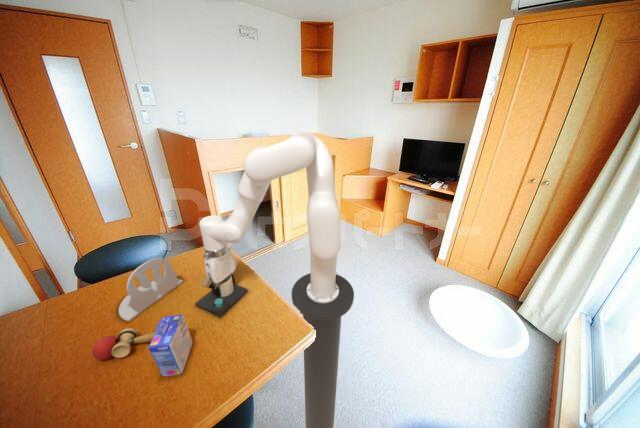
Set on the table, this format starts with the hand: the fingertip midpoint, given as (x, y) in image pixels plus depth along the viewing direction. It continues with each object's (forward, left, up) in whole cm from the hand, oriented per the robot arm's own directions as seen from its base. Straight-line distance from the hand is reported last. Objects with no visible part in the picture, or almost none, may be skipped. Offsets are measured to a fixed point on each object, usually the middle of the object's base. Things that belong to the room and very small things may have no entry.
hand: (224, 288), depth 91 cm
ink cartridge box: (+25, +7, -3) cm, 27 cm away
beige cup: (0, 0, -1) cm, 1 cm away
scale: (+2, +1, -2) cm, 4 cm away
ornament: (+13, -26, -3) cm, 30 cm away
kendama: (+28, -8, -3) cm, 30 cm away
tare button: (+7, +5, 0) cm, 8 cm away
